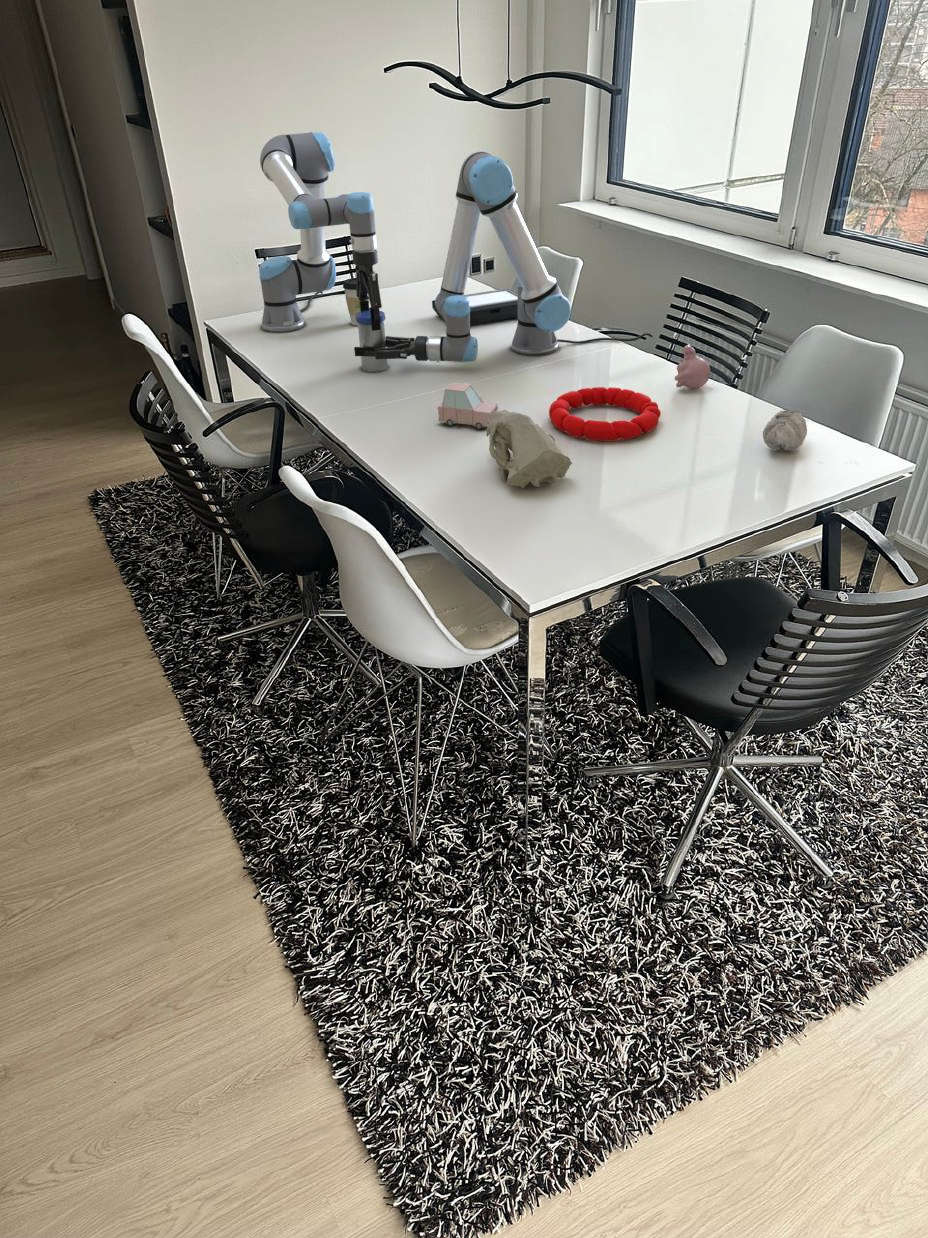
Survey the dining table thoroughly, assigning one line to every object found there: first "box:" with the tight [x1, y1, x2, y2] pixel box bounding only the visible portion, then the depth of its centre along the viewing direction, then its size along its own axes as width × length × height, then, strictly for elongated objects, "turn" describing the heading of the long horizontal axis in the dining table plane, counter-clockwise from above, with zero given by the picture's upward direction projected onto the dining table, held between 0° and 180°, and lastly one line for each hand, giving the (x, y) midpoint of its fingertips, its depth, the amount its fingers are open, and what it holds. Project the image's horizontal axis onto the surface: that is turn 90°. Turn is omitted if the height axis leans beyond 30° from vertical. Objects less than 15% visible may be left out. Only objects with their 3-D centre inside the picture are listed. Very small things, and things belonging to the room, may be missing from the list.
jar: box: [357, 321, 388, 373], centre depth 282 cm, size 8×8×16 cm
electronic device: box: [431, 288, 518, 326], centre depth 328 cm, size 32×6×20 cm
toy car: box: [437, 382, 499, 431], centre depth 243 cm, size 9×15×10 cm, turn 70°
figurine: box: [674, 344, 711, 390], centre depth 259 cm, size 9×11×12 cm
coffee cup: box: [342, 277, 370, 327], centre depth 323 cm, size 10×10×15 cm
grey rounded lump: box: [762, 410, 808, 451], centre depth 223 cm, size 10×15×10 cm
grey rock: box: [485, 409, 573, 489], centre depth 216 cm, size 17×25×20 cm
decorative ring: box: [548, 386, 661, 442], centre depth 242 cm, size 7×30×30 cm
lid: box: [356, 310, 386, 324], centre depth 277 cm, size 9×9×2 cm
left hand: (371, 325), depth 279 cm, fingers closed on lid, 9 cm apart
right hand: (358, 346), depth 283 cm, fingers closed on jar, 8 cm apart
